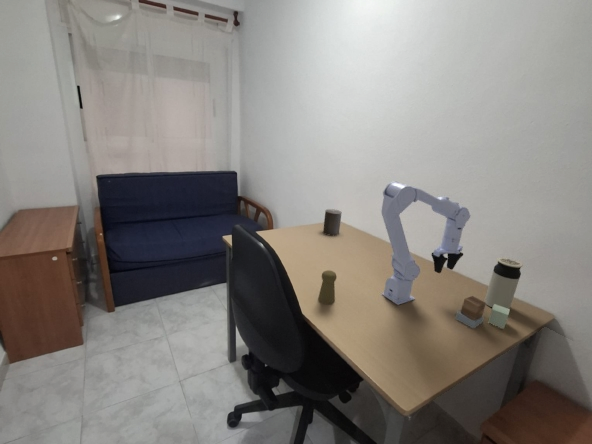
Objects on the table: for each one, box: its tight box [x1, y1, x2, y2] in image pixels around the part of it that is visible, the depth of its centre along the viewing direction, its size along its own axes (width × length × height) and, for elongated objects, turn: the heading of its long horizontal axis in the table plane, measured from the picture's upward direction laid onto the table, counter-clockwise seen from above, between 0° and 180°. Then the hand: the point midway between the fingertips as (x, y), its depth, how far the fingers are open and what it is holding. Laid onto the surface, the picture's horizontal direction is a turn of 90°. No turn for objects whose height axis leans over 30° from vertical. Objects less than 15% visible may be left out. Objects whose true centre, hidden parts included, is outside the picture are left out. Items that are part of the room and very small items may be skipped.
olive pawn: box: [317, 269, 337, 305], centre depth 104 cm, size 6×6×11 cm
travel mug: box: [483, 257, 524, 309], centre depth 107 cm, size 8×8×18 cm
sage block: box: [487, 304, 511, 330], centre depth 98 cm, size 4×4×6 cm
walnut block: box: [460, 295, 487, 321], centre depth 97 cm, size 4×4×6 cm
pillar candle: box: [322, 208, 343, 236], centre depth 175 cm, size 10×10×15 cm
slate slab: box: [455, 309, 485, 329], centre depth 99 cm, size 6×6×3 cm
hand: (443, 270), depth 112 cm, fingers open, 7 cm apart
